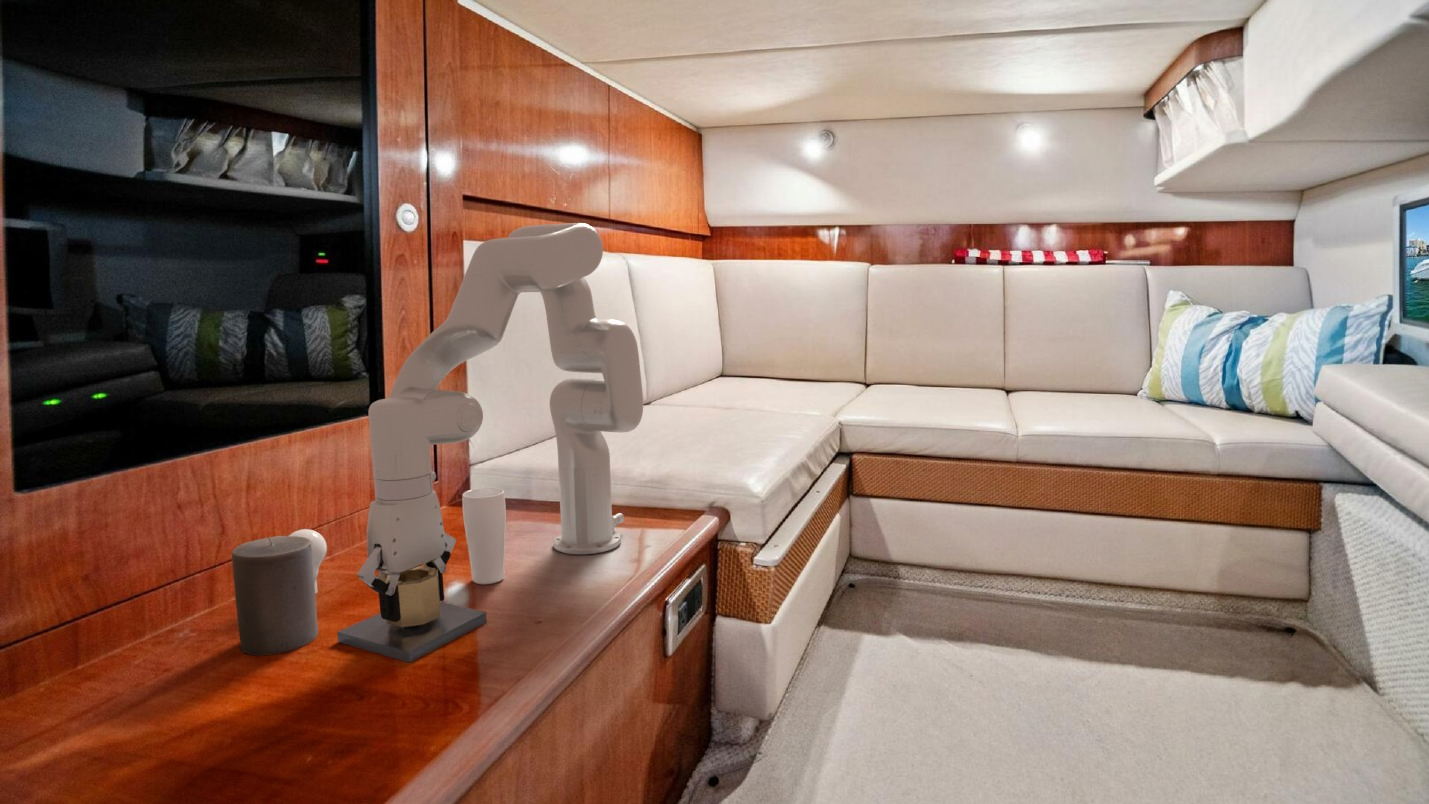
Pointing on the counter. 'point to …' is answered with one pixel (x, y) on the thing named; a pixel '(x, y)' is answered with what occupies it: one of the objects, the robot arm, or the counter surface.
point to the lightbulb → (314, 549)
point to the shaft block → (412, 633)
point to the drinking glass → (485, 533)
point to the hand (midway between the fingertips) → (413, 608)
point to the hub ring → (418, 596)
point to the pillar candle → (275, 594)
